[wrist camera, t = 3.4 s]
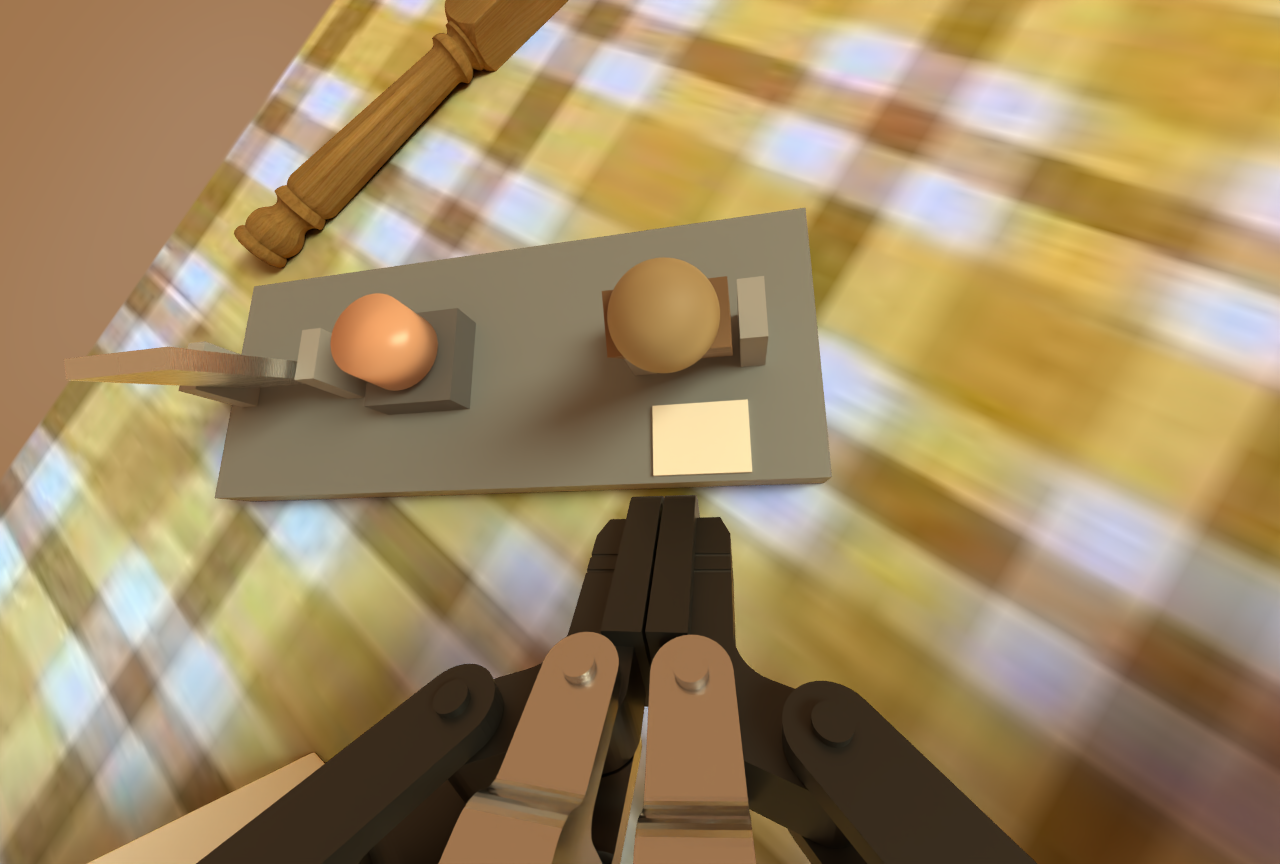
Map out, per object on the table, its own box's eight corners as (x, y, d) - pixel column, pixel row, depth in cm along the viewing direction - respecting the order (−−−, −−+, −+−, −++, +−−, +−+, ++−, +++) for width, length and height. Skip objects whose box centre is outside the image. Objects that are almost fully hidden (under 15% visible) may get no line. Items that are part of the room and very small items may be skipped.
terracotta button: (433, 387, 21) (402, 372, 19) (362, 393, 21) (324, 379, 20) (441, 311, 21) (411, 288, 20) (371, 319, 22) (336, 298, 20)
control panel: (823, 483, 20) (847, 465, 16) (252, 501, 27) (144, 492, 22) (800, 235, 23) (814, 156, 18) (286, 303, 29) (196, 257, 24)
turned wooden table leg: (220, 221, 28) (585, -137, 28) (270, 251, 31) (600, -73, 31) (242, 251, 27) (619, -120, 27) (291, 279, 30) (632, -56, 30)
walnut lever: (733, 367, 20) (731, 367, 10) (662, 373, 21) (590, 379, 10) (729, 304, 20) (724, 234, 9) (658, 311, 20) (578, 254, 10)
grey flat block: (333, 381, 24) (169, 369, 17) (251, 388, 25) (66, 380, 18) (332, 365, 24) (167, 346, 17) (250, 373, 25) (64, 358, 18)
